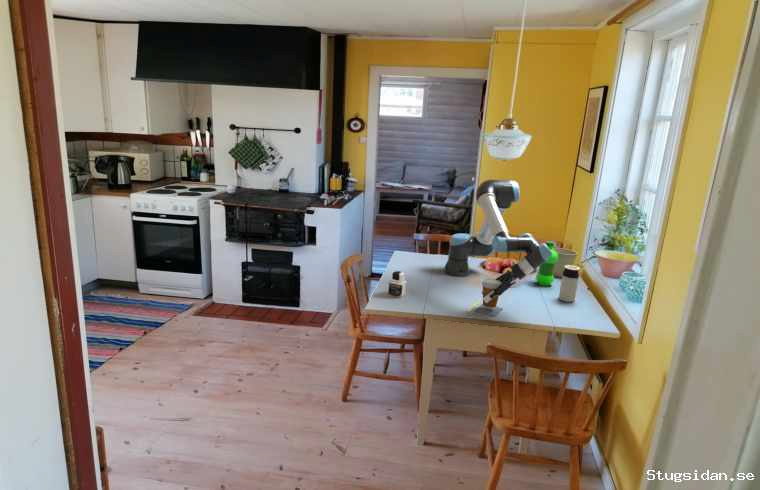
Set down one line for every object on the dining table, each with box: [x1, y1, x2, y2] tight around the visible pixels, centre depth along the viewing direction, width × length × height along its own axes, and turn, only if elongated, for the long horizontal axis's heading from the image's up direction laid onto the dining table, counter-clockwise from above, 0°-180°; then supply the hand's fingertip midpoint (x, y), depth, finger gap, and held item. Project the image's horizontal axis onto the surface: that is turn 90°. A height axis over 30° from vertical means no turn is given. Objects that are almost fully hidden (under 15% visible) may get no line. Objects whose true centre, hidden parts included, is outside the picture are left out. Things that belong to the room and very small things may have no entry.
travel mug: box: [558, 265, 581, 303], centre depth 254 cm, size 8×8×18 cm
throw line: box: [465, 301, 481, 313], centre depth 237 cm, size 1×16×1 cm, turn 149°
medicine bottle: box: [387, 271, 407, 299], centre depth 245 cm, size 7×7×12 cm
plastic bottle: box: [535, 241, 558, 287], centre depth 275 cm, size 10×10×25 cm
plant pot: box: [553, 247, 578, 278], centre depth 295 cm, size 15×15×16 cm
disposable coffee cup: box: [481, 278, 502, 308], centre depth 231 cm, size 10×10×12 cm
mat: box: [474, 303, 504, 317], centre depth 234 cm, size 10×12×1 cm
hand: (483, 297), depth 232 cm, fingers closed on disposable coffee cup, 8 cm apart
